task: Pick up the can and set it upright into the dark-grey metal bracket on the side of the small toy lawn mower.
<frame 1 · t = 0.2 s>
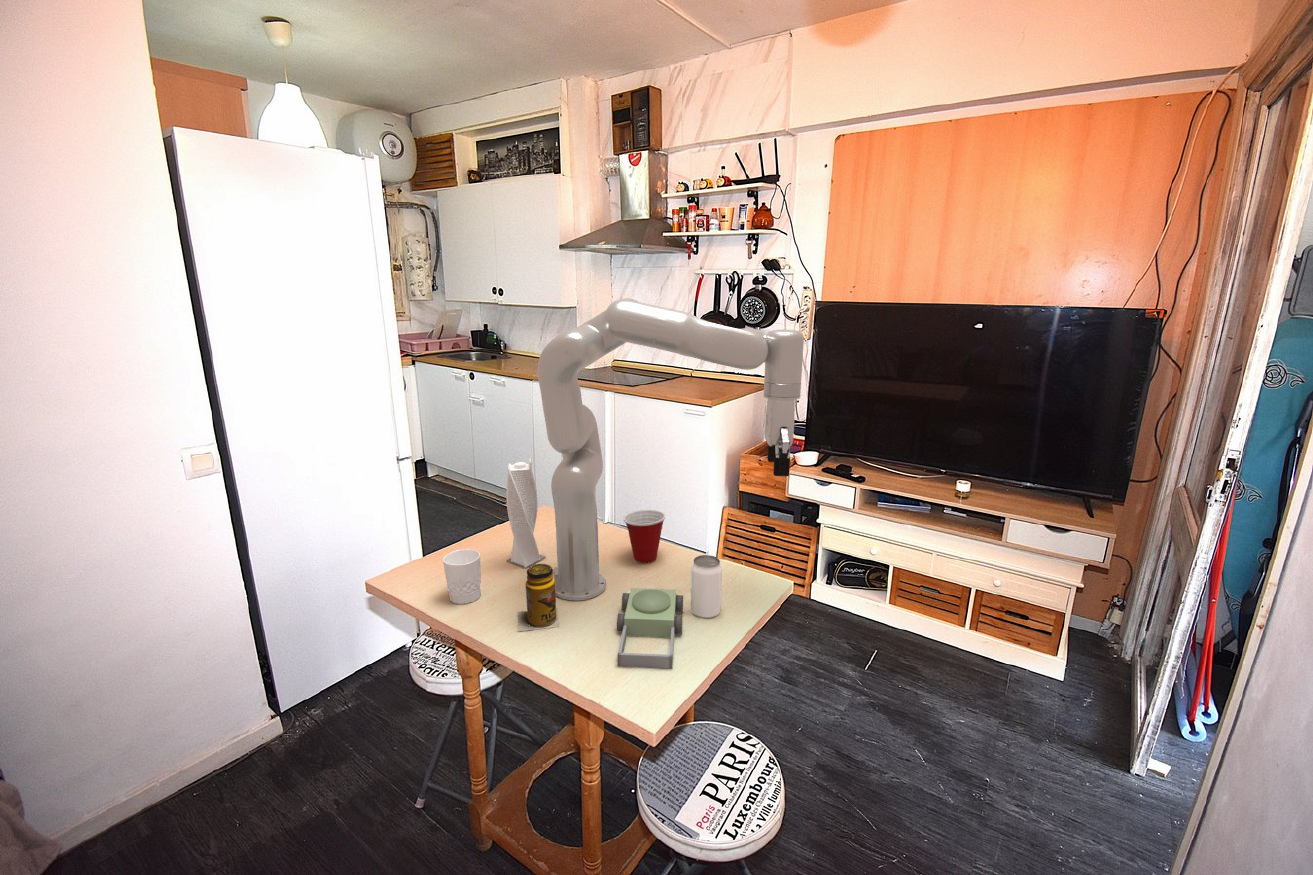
hand: (777, 468, 124), 31 cm above the table, fingers open, 9 cm apart
white cup: (465, 597, 131), on the table
condiment: (538, 620, 122), on the table
can: (705, 611, 126), on the table
skyscraper: (526, 562, 148), on the table
plastic cup: (644, 558, 150), on the table
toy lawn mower: (651, 620, 122), on the table
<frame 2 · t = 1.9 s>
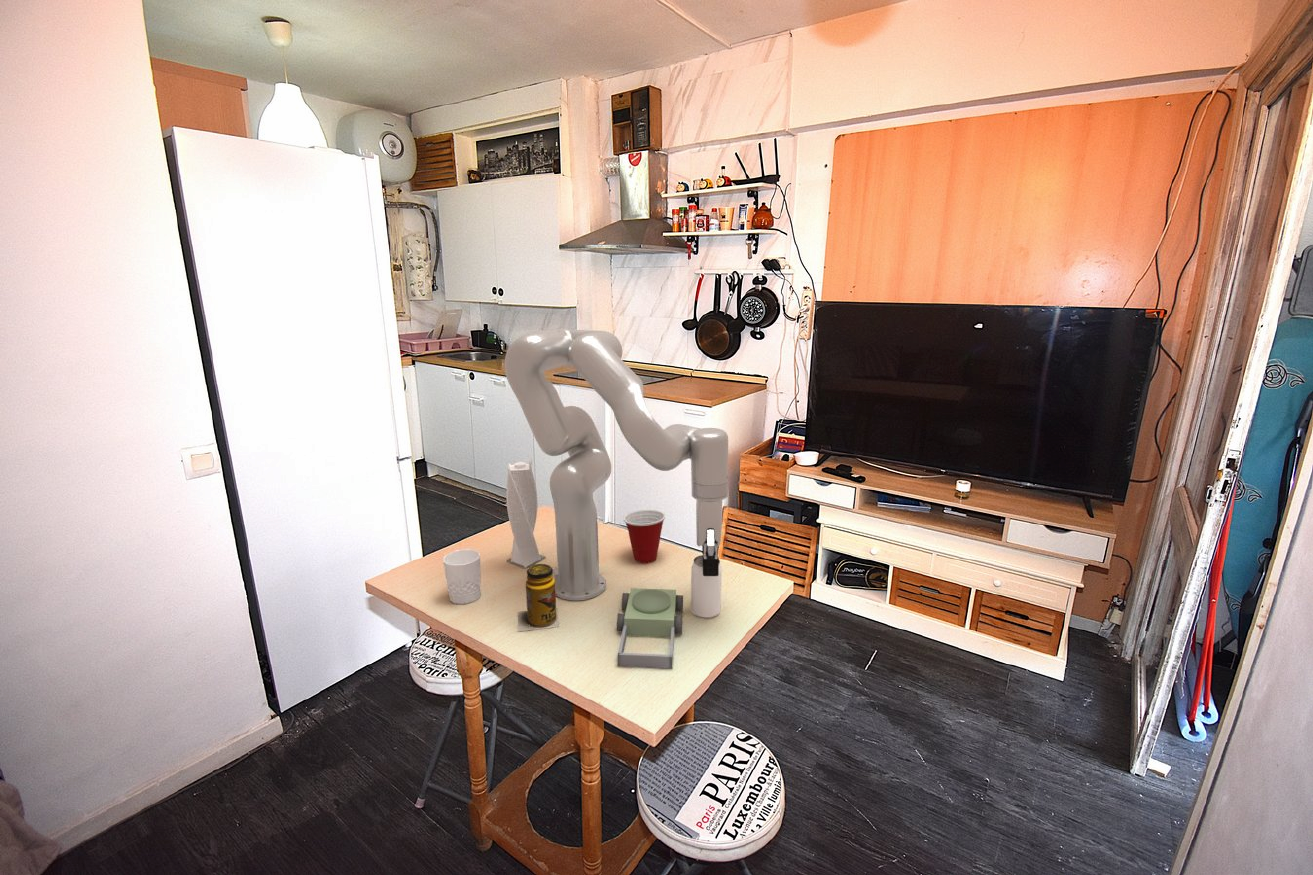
hand: (710, 564, 123), 11 cm above the table, fingers open, 9 cm apart
nothing on the table moved.
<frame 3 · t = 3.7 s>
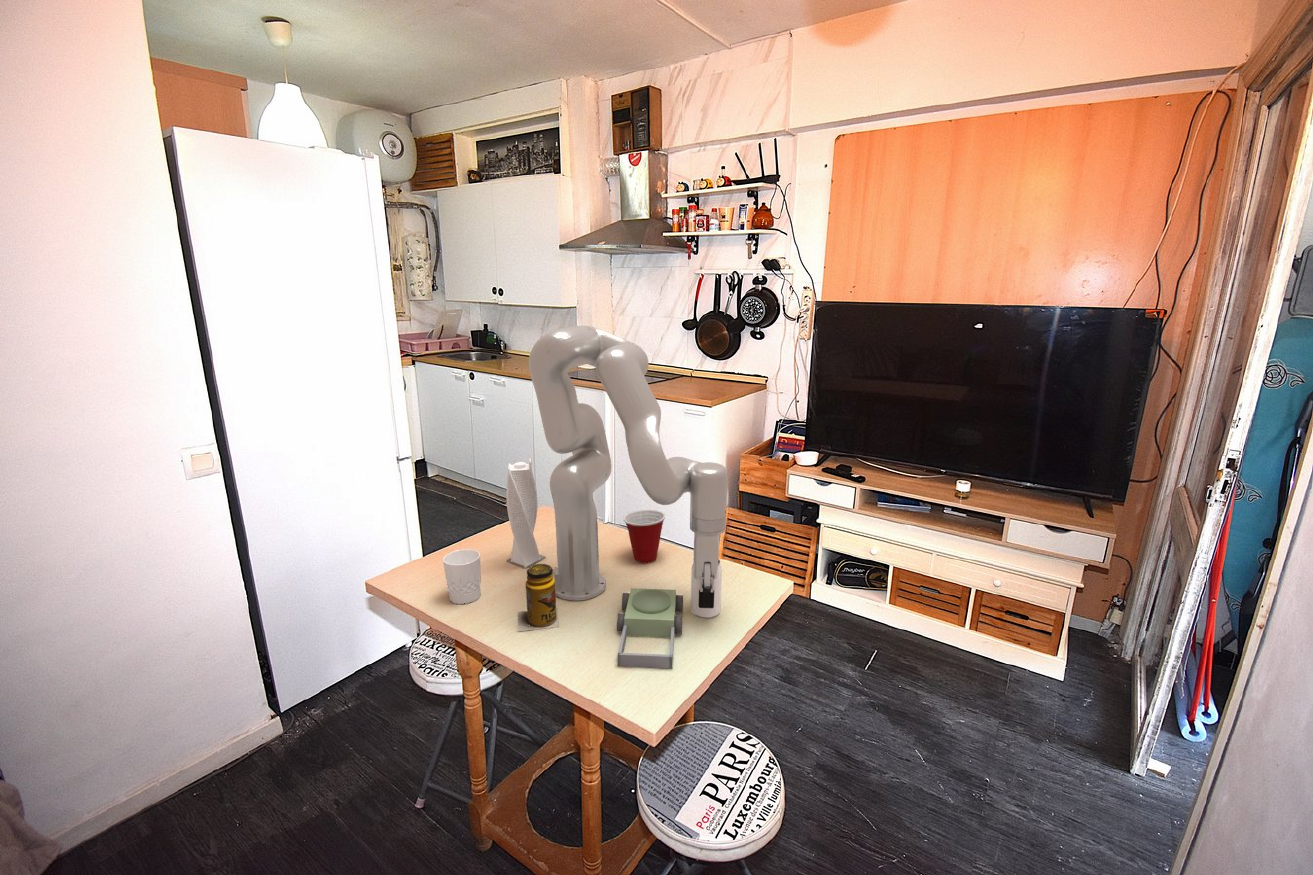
hand: (705, 597, 125), 3 cm above the table, fingers closed on can, 6 cm apart
can: (705, 611, 126), on the table, touching gripper
everything else where it was.
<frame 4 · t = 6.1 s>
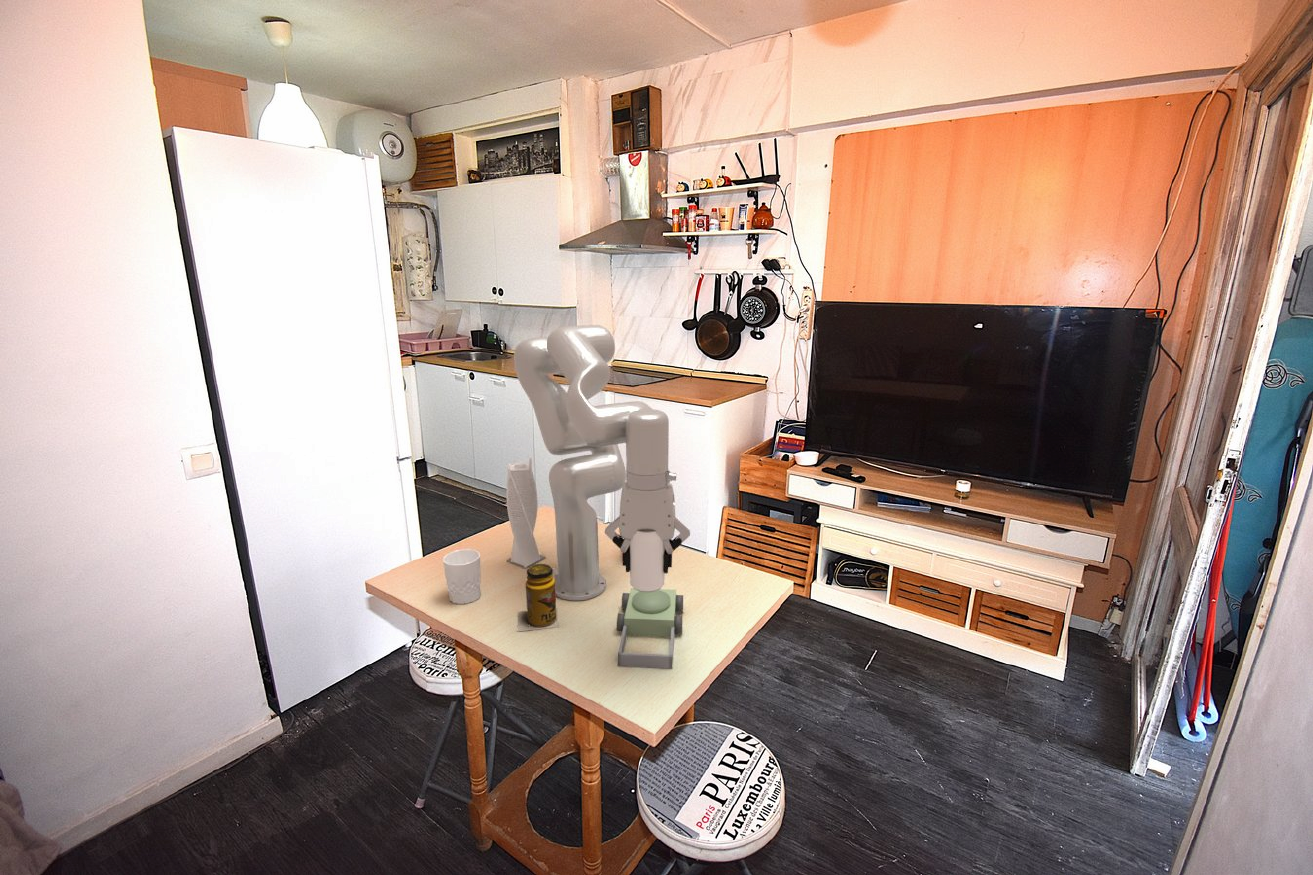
hand: (647, 568, 108), 17 cm above the table, fingers closed on can, 6 cm apart
can: (647, 585, 108), point 14 cm above the table, touching gripper
everything else where it was.
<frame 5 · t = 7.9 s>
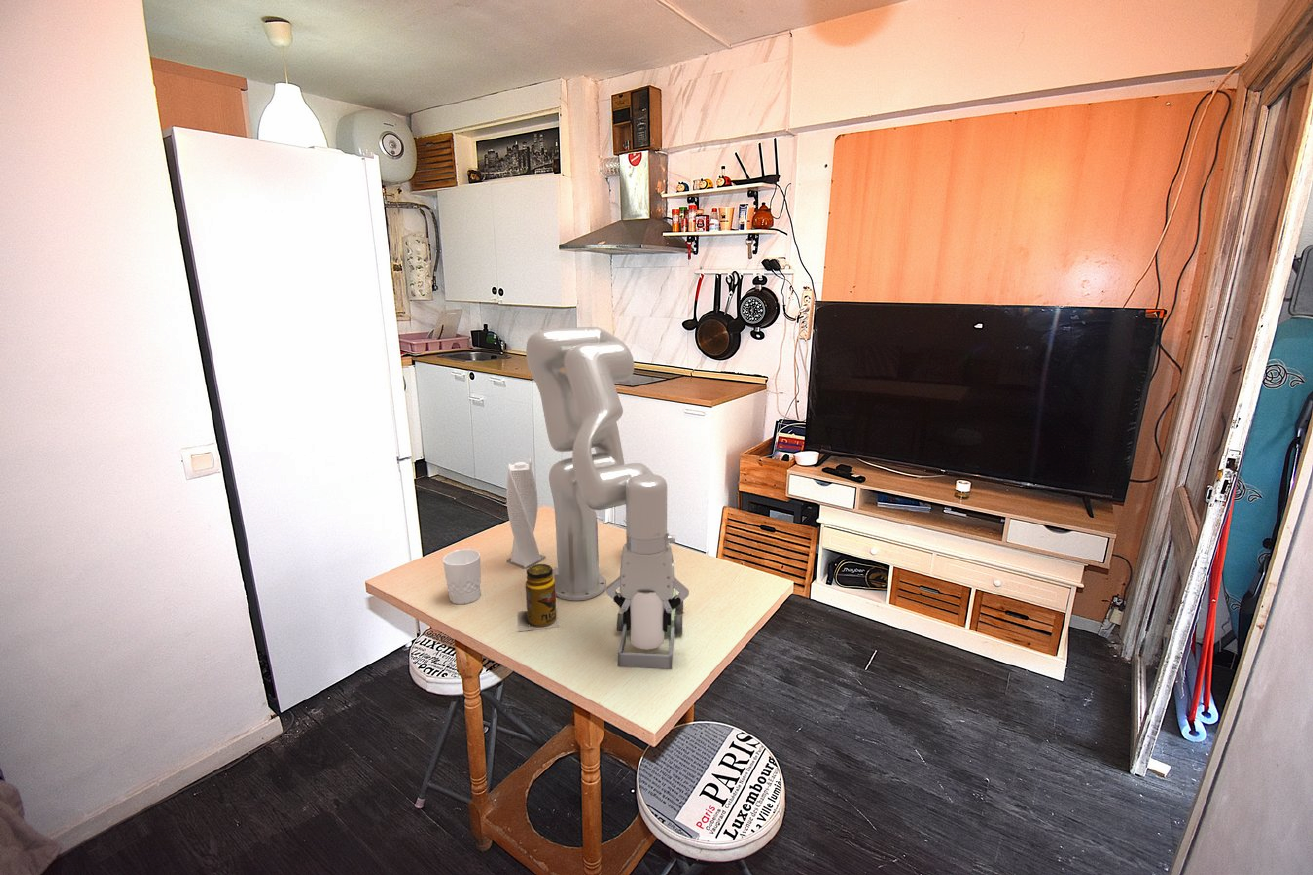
hand: (647, 626, 111), 5 cm above the table, fingers closed on can, 6 cm apart
can: (647, 642, 111), point 2 cm above the table, touching gripper
everything else where it was.
when the fingers open (5 cm above the table, at t = 9.0 s): can drops 1 cm, resting in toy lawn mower.
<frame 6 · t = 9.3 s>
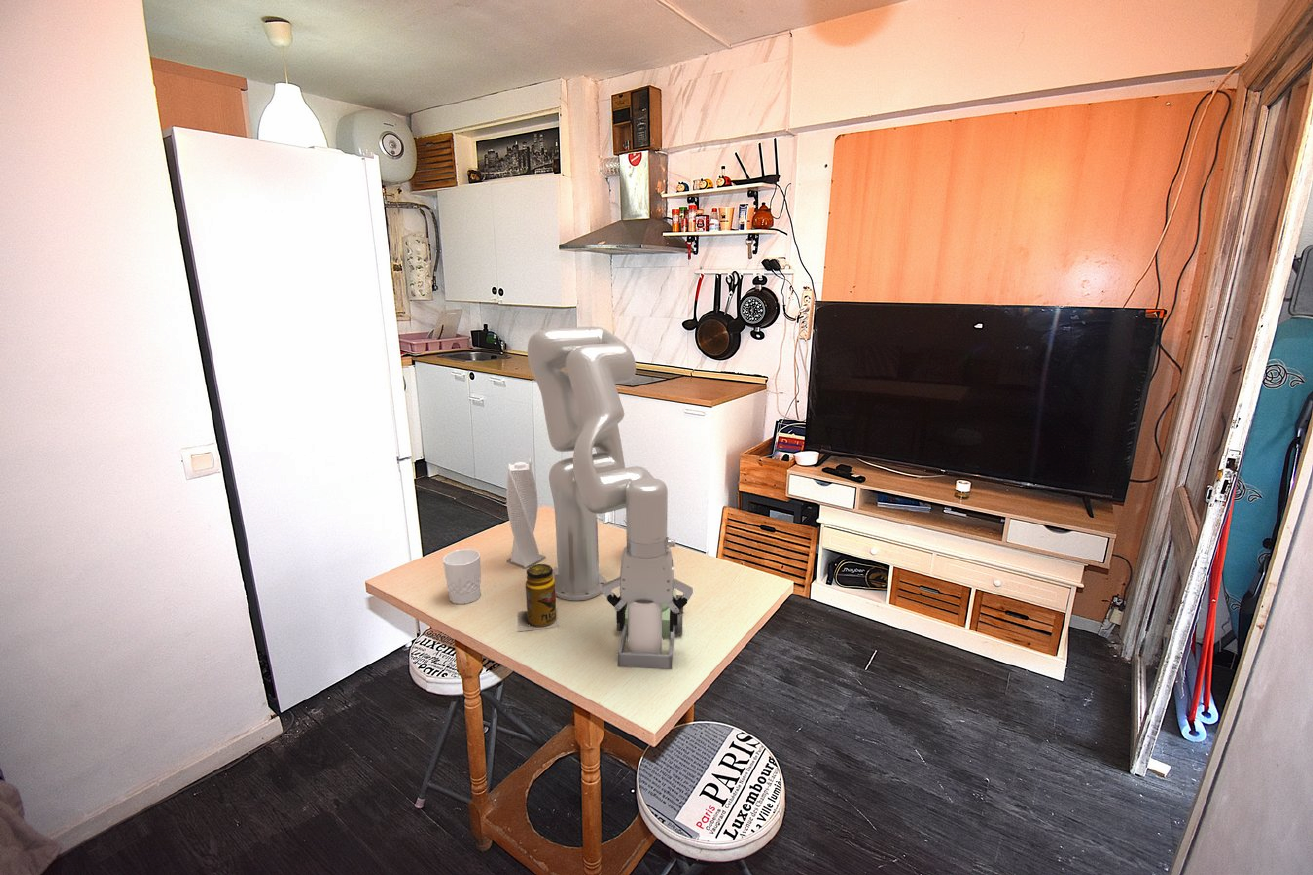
hand: (647, 626, 111), 5 cm above the table, fingers open, 9 cm apart
can: (645, 651, 112), resting in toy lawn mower
everything else where it was.
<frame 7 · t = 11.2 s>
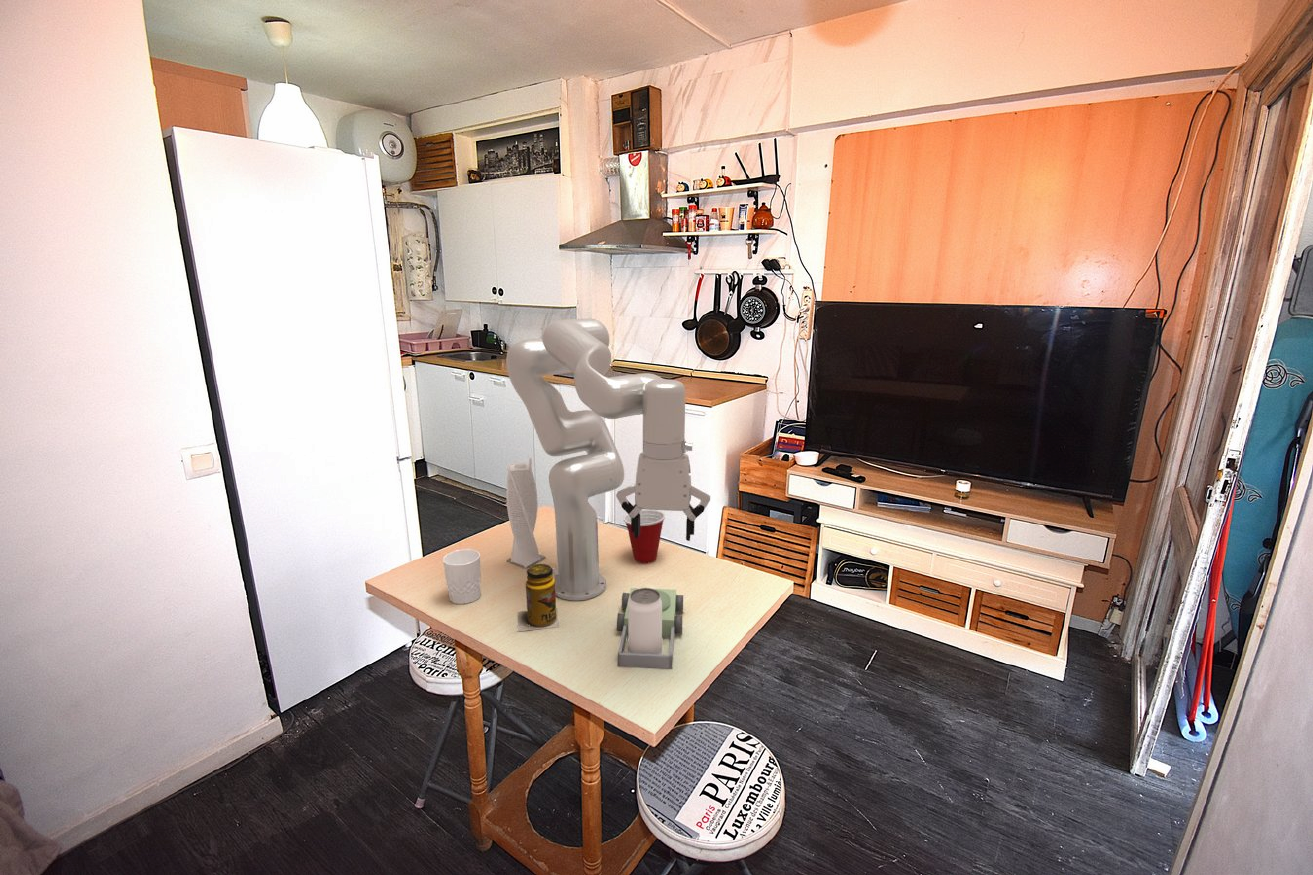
hand: (662, 536, 108), 23 cm above the table, fingers open, 9 cm apart
nothing on the table moved.
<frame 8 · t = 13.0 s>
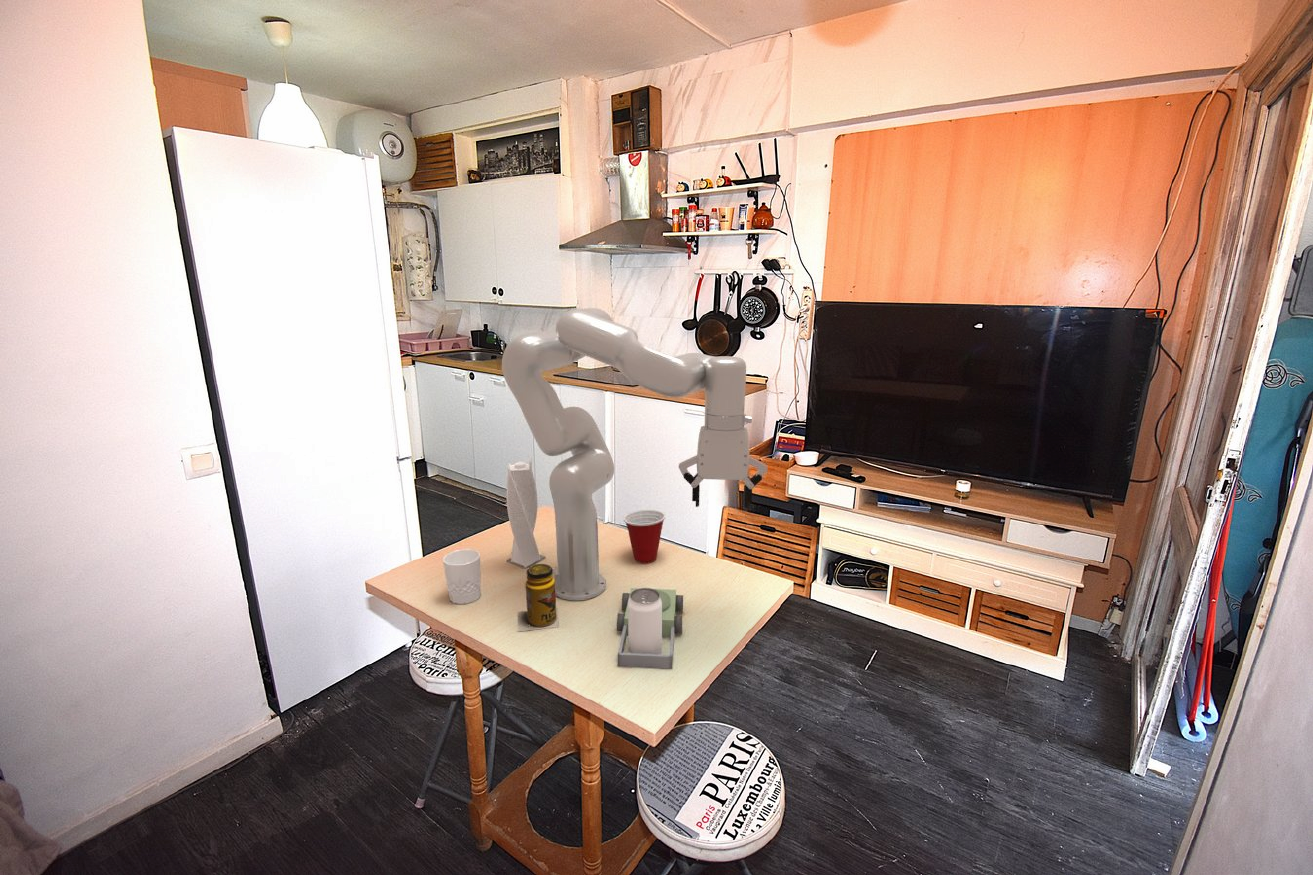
hand: (721, 505, 115), 26 cm above the table, fingers open, 9 cm apart
nothing on the table moved.
at the end: can inside the target area (0.5 cm from its centre), resting in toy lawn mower; can tilted 0°; the gripper is holding nothing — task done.
